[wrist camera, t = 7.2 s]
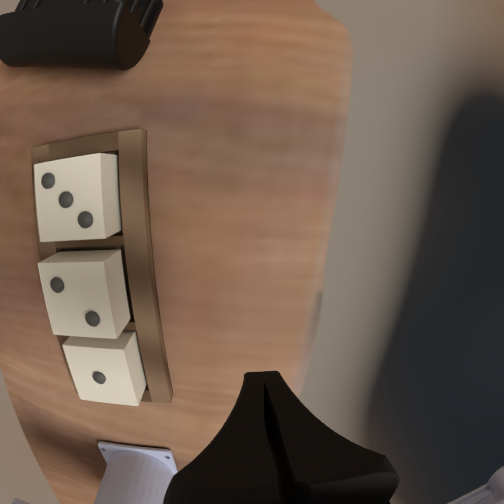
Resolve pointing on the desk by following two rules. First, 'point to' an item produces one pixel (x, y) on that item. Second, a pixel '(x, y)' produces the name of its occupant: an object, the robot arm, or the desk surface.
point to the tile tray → (123, 245)
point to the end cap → (78, 33)
